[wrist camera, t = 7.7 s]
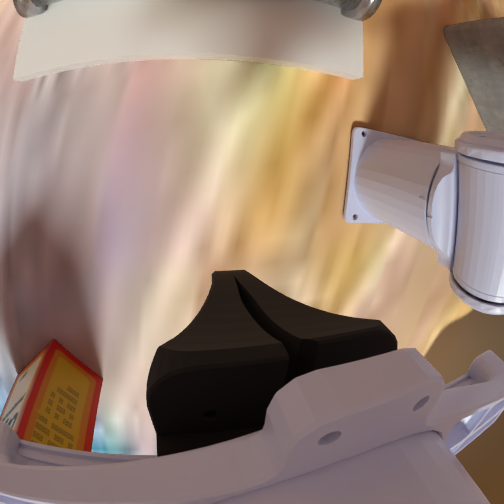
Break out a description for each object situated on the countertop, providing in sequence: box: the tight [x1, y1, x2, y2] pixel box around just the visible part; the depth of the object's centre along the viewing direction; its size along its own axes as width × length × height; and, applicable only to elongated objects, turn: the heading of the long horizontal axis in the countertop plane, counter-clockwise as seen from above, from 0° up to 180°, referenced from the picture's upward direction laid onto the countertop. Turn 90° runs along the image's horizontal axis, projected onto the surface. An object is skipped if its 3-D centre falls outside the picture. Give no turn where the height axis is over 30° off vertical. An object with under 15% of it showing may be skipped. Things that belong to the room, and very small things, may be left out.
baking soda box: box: [0, 339, 103, 452], centre depth 16 cm, size 10×6×16 cm
